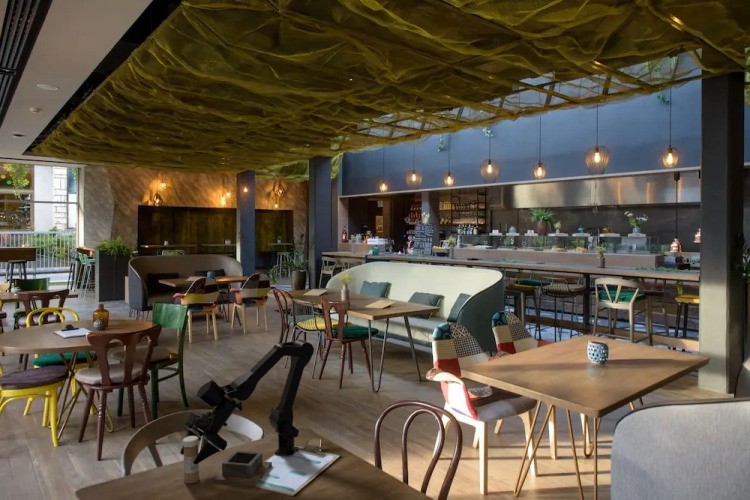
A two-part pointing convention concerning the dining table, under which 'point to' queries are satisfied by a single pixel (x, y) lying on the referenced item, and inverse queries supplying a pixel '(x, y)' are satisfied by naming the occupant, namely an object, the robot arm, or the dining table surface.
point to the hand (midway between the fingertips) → (187, 458)
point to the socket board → (242, 469)
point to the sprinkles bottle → (190, 459)
